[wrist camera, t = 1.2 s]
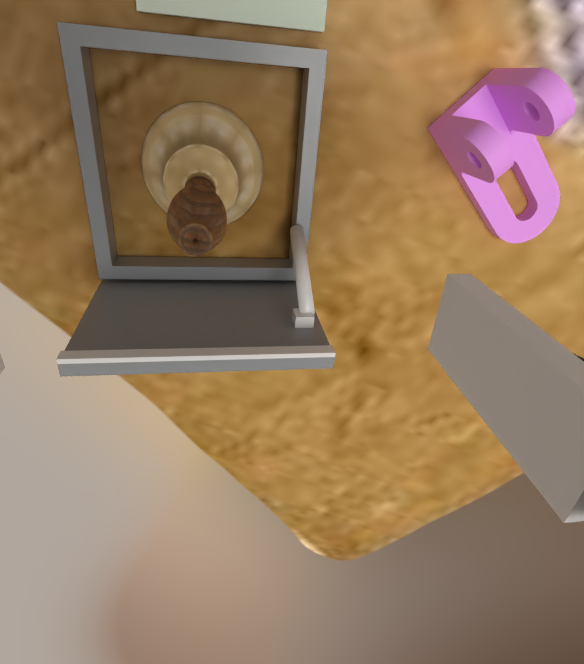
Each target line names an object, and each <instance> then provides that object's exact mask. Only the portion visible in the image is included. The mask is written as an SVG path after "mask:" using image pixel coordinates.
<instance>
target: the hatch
mask: <svg viewBox="0 0 584 664" xmlns="http://www.w3.org/2000/svg"><path fill="white" fill-rule="evenodd" d="M57 26H58V32H59V38H60V44H61V50H62V56H63V62H64V68H65V74H66V81H67V87H68V93H69V99H70V105H71V111H72V117H73V123H74V129H75V135H76V141H77V147H78V153H79V160H80V166H81V172H82V178H83V184H84V190H85V196H86V202H87V208H88V214H89V220H90V226H91V233H92V239H93V245H94V251H95V257H96V263H97V269H98V275H99V279H102V281H101V283H100V285H99V287H98V289H97V291H96V293H95V294H94V296H93V298H92V300H91V302H90V304H89V306H88V308H87V309H86V311H85V313H84V315H83V317H82V319H81V321H80V323H79V324H78V326H77V328H76V330H75V332H74V334H73V336H72V338H71V339H70V341H69V343H68V345H67V347H66V349H65V351H61V352H60V353H59V355H58V357H57V359H56V360H57V365H58V369H59V372H60V376H90V375H123V374H157V373H190V372H223V371H256V370H289V369H322V368H333V366H334V359H335V350H334V348H333V346H332V345H329V342H328V340H327V338H326V335H325V333H324V331H323V328H322V326H321V324H320V321H319V319H318V317H317V314H316V312H315V310H314V303H313V296H312V288H311V281H310V273H309V266H308V258H307V249H308V239H309V229H310V219H311V209H312V199H313V189H314V179H315V169H316V159H317V149H318V139H319V129H320V119H321V109H322V100H323V90H324V80H325V70H326V60H327V50H320V49H311V48H301V47H292V46H282V45H273V44H263V43H253V42H244V41H234V40H225V39H215V38H206V37H196V36H187V35H177V34H167V33H158V32H148V31H139V30H129V29H120V28H110V27H101V26H91V25H81V24H72V23H62V22H57ZM89 48H95V49H105V50H115V51H126V52H136V53H147V54H157V55H168V56H178V57H188V58H199V59H209V60H220V61H230V62H241V63H251V64H261V65H272V66H282V67H293V68H303V82H302V95H301V108H300V120H299V133H298V146H297V159H296V172H295V185H294V197H293V210H292V223H291V228H290V249H289V259H278V258H215V257H153V256H117V250H116V242H115V235H114V228H113V221H112V213H111V206H110V199H109V191H108V184H107V177H106V169H105V162H104V155H103V147H102V140H101V133H100V126H99V118H98V111H97V104H96V96H95V89H94V82H93V74H92V67H91V60H90V53H89Z"/></svg>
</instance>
